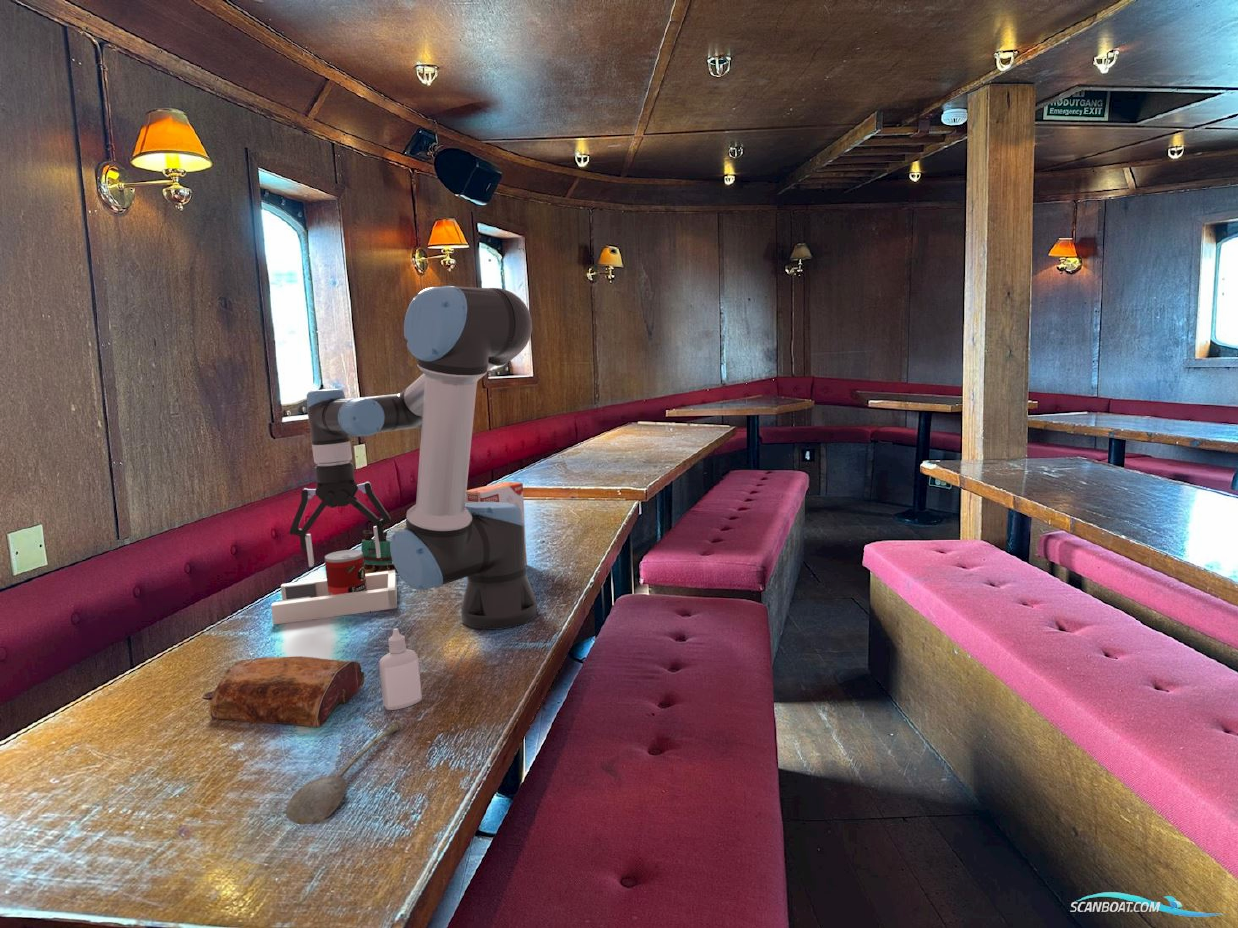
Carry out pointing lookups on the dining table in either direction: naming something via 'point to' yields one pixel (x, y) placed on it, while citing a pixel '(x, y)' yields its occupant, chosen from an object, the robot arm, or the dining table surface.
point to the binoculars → (370, 554)
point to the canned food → (345, 572)
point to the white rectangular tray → (334, 599)
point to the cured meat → (285, 690)
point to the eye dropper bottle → (399, 674)
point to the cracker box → (500, 496)
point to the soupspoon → (326, 790)
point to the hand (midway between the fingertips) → (345, 560)
